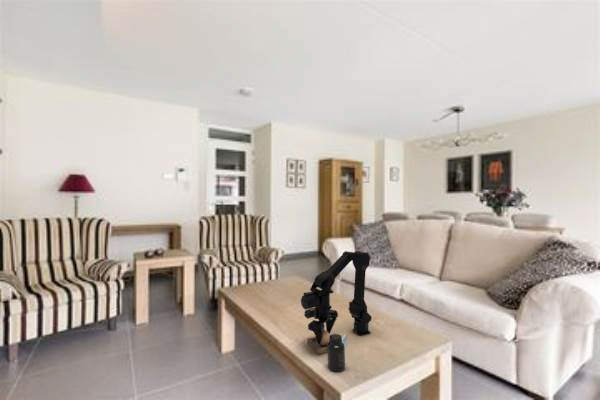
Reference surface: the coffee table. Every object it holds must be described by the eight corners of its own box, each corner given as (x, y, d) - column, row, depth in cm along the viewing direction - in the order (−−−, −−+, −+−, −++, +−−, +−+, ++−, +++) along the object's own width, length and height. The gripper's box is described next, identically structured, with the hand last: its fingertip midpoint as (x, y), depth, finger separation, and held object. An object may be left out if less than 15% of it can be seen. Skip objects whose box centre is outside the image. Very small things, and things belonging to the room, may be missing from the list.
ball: (326, 340, 129) (326, 327, 129) (333, 346, 124) (333, 332, 124) (315, 342, 127) (315, 329, 127) (321, 349, 122) (321, 335, 122)
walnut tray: (328, 337, 133) (328, 333, 133) (341, 349, 123) (341, 344, 123) (307, 342, 128) (307, 338, 128) (318, 355, 118) (318, 350, 118)
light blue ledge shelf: (343, 341, 129) (343, 334, 129) (348, 342, 128) (347, 335, 128) (328, 358, 115) (328, 350, 115) (333, 360, 114) (333, 352, 114)
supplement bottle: (343, 361, 113) (342, 332, 113) (346, 372, 106) (346, 340, 106) (326, 362, 113) (326, 332, 113) (328, 372, 106) (328, 341, 106)
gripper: (317, 294, 138) (317, 326, 138) (297, 307, 122) (297, 343, 122) (338, 298, 132) (338, 331, 132) (320, 312, 116) (320, 350, 116)
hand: (323, 338), depth 126 cm, fingers open, 9 cm apart
